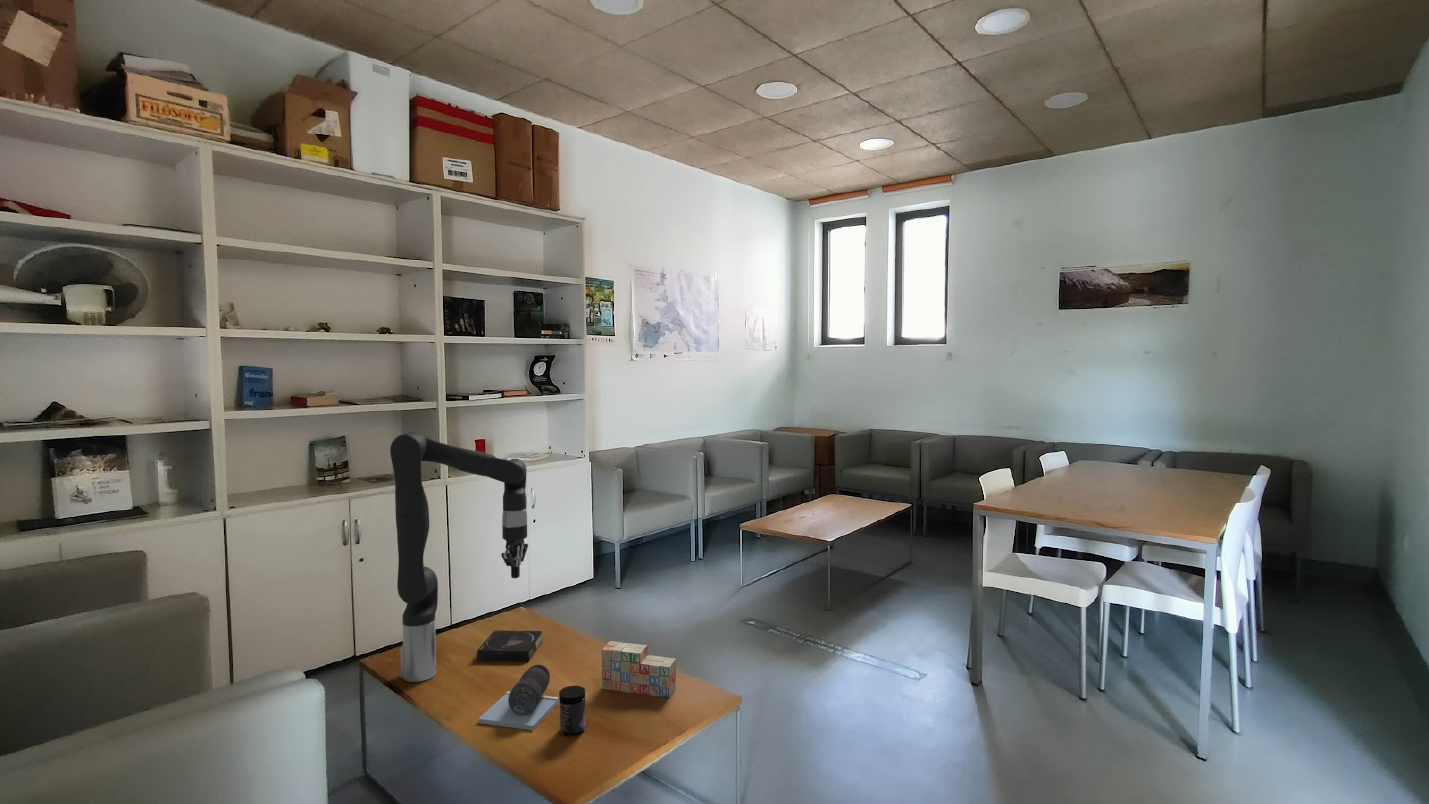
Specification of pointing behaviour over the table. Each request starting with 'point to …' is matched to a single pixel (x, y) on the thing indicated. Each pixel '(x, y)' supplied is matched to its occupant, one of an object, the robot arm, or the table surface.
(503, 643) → the portable cd player
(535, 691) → the camera lens
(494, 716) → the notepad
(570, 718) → the supplement container
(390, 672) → the table surface
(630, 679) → the stack of blocks
